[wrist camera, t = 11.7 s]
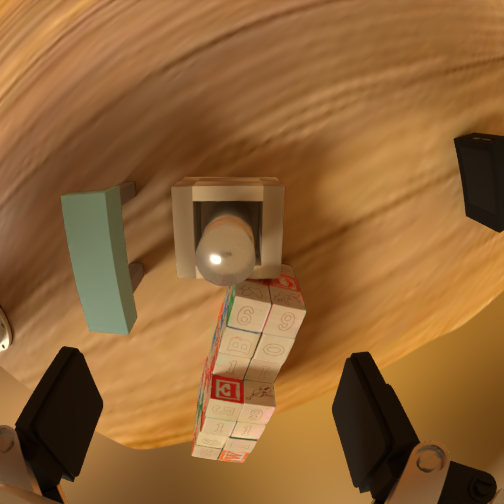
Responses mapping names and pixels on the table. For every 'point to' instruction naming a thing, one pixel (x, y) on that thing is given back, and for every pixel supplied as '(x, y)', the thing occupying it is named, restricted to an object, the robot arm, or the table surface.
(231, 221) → the peg
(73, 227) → the teal bridge block
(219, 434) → the stack of blocks
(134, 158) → the table surface
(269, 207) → the socket
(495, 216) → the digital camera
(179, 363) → the table surface
